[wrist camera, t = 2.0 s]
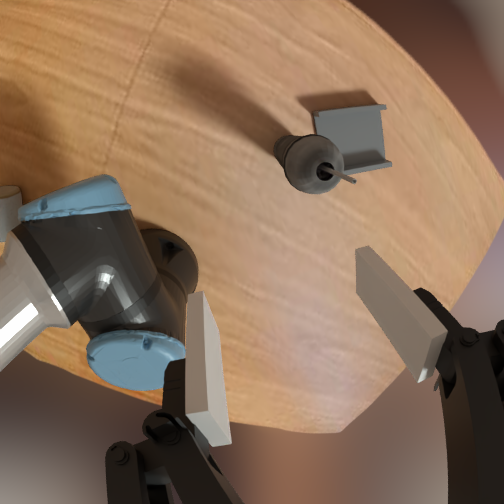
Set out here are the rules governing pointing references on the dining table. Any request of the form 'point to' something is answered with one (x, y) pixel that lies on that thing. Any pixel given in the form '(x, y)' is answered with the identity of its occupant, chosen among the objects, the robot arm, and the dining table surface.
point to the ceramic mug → (9, 209)
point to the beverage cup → (311, 163)
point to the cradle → (355, 135)
